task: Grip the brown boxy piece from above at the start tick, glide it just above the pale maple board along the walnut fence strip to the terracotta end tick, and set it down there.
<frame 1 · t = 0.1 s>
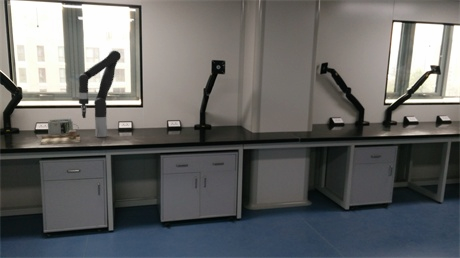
hand: (83, 117, 307), 17 cm above the workbench, tool pointing down, fingers open, 8 cm apart
maple board: (61, 141, 292), on the workbench
geiger counter: (63, 134, 322), on the workbench
brown boxy piece: (72, 138, 296), point 2 cm above the workbench, touching maple board
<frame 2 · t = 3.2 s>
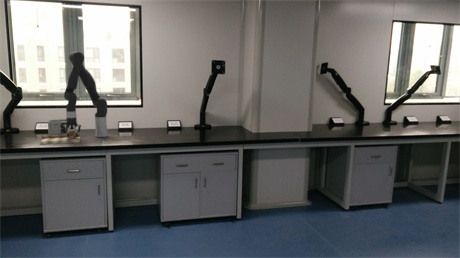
hand: (72, 137, 296), 3 cm above the workbench, tool pointing down, fingers closed on brown boxy piece, 5 cm apart
brown boxy piece: (72, 138, 296), point 2 cm above the workbench, touching gripper, maple board
everything else where it was.
when the fingers open (3 cm above the workbench, at t = 9.4 s): brown boxy piece stays where it is, resting on maple board.
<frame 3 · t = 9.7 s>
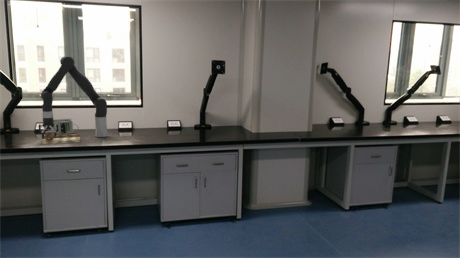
hand: (49, 137, 289), 4 cm above the workbench, tool pointing down, fingers open, 8 cm apart
brown boxy piece: (49, 139, 290), point 2 cm above the workbench, touching maple board
everything else where it was.
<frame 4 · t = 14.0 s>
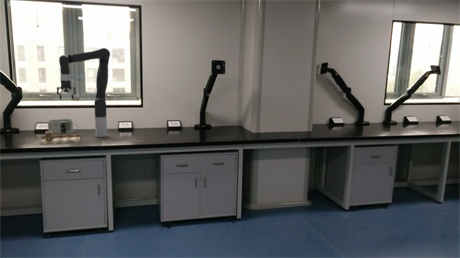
hand: (66, 99, 303), 32 cm above the workbench, tool pointing down, fingers open, 8 cm apart
nothing on the workbench moved.
at the end: brown boxy piece 0.4 cm from the target spot, point 2.0 cm above the workbench; brown boxy piece tilted 0°; the gripper is holding nothing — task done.
